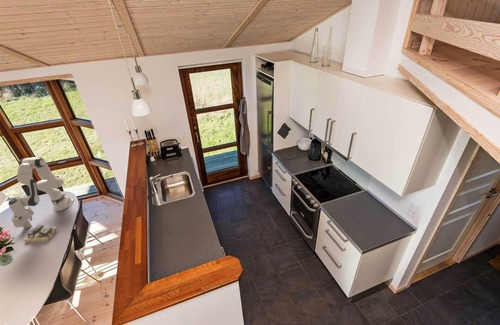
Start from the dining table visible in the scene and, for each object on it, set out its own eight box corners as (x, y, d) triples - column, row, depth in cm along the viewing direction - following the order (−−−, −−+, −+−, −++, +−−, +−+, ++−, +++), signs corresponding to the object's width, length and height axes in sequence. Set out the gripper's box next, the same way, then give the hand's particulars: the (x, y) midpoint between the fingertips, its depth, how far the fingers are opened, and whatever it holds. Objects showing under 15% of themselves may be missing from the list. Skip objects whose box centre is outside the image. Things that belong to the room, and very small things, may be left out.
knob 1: (35, 233, 255) (32, 228, 251) (40, 233, 255) (37, 227, 251) (29, 239, 248) (26, 233, 244) (34, 238, 248) (31, 233, 244)
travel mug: (27, 229, 259) (18, 215, 249) (22, 228, 261) (13, 214, 251) (33, 225, 265) (24, 211, 255) (28, 224, 266) (19, 210, 256)
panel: (36, 230, 258) (34, 227, 256) (58, 229, 259) (56, 226, 257) (25, 242, 244) (23, 239, 242) (48, 241, 245) (46, 238, 243)
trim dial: (32, 236, 245) (30, 234, 244) (35, 236, 245) (33, 234, 244) (30, 238, 243) (28, 236, 241) (33, 238, 243) (31, 236, 241)
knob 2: (40, 230, 253) (37, 224, 249) (45, 229, 253) (42, 224, 249) (35, 235, 246) (32, 230, 242) (40, 235, 246) (36, 230, 242)
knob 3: (49, 232, 255) (46, 227, 251) (53, 232, 255) (51, 227, 252) (44, 238, 248) (41, 233, 245) (48, 238, 248) (45, 233, 245)
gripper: (25, 206, 245) (32, 216, 252) (9, 221, 227) (16, 231, 235) (32, 206, 245) (38, 216, 252) (16, 220, 228) (23, 231, 235)
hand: (27, 223), depth 243 cm, fingers open, 8 cm apart
